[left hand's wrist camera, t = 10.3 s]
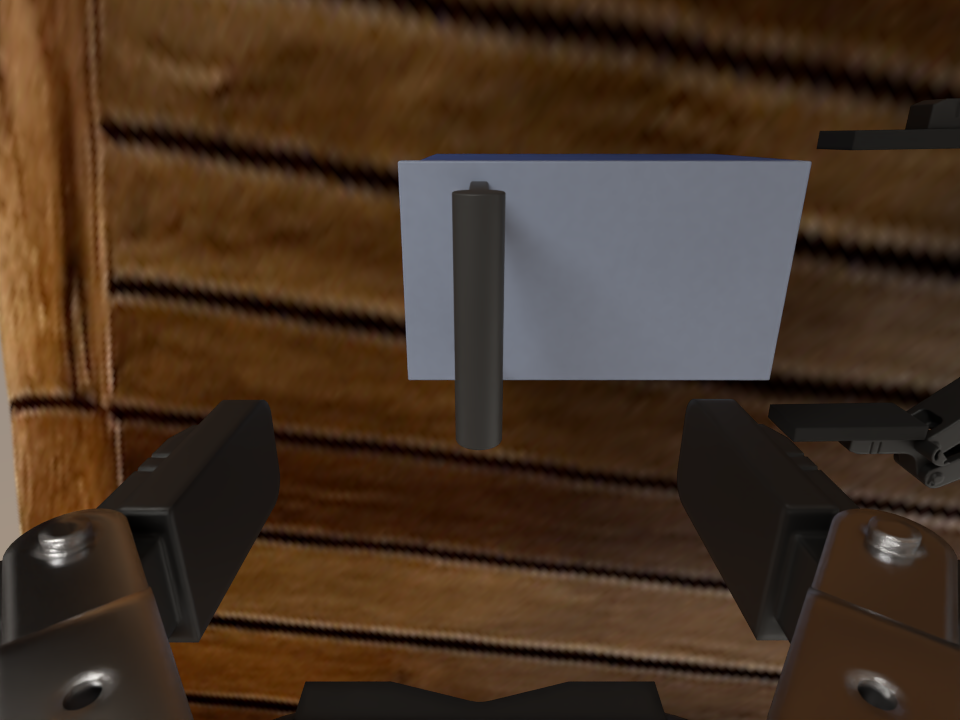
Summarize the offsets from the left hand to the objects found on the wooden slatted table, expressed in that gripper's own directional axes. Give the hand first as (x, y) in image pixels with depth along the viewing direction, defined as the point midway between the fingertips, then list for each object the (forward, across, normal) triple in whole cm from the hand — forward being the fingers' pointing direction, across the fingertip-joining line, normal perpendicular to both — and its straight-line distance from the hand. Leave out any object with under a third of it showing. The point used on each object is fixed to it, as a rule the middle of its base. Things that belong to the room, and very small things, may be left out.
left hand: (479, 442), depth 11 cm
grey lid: (+14, +5, 0) cm, 15 cm away
